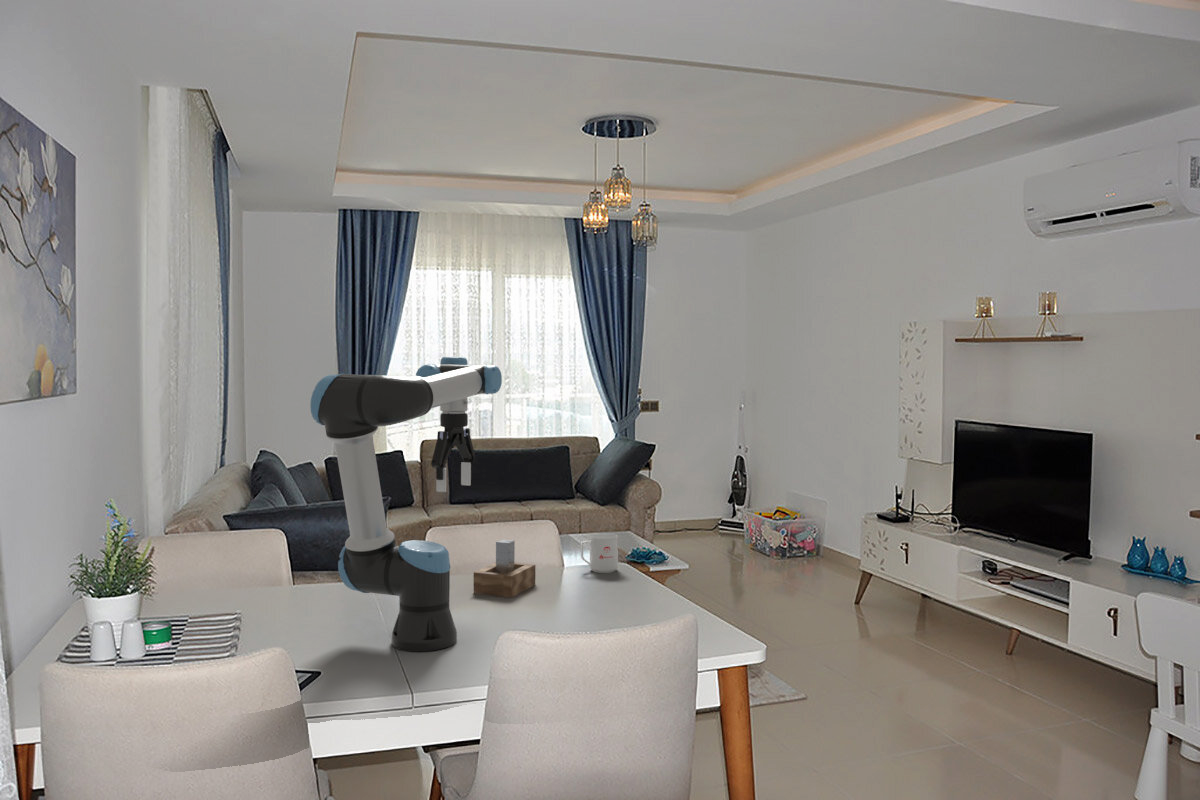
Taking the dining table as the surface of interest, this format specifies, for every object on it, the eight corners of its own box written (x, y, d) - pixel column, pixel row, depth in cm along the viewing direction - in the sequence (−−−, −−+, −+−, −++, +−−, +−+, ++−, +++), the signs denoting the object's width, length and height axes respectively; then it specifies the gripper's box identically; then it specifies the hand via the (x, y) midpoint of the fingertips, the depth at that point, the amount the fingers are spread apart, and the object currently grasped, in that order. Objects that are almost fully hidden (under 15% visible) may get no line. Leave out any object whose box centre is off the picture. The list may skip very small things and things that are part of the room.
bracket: (508, 591, 266) (508, 543, 265) (495, 589, 268) (495, 541, 267) (518, 585, 273) (519, 538, 272) (506, 584, 274) (506, 537, 273)
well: (511, 597, 259) (511, 576, 259) (473, 593, 263) (473, 572, 263) (535, 584, 274) (535, 564, 274) (499, 580, 278) (499, 560, 278)
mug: (612, 566, 299) (613, 532, 298) (621, 572, 290) (621, 537, 289) (576, 568, 295) (577, 534, 295) (584, 575, 287) (584, 539, 286)
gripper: (442, 415, 243) (442, 495, 244) (487, 410, 267) (486, 483, 268) (418, 414, 246) (418, 493, 247) (464, 409, 269) (464, 481, 270)
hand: (453, 488), depth 257 cm, fingers open, 13 cm apart
